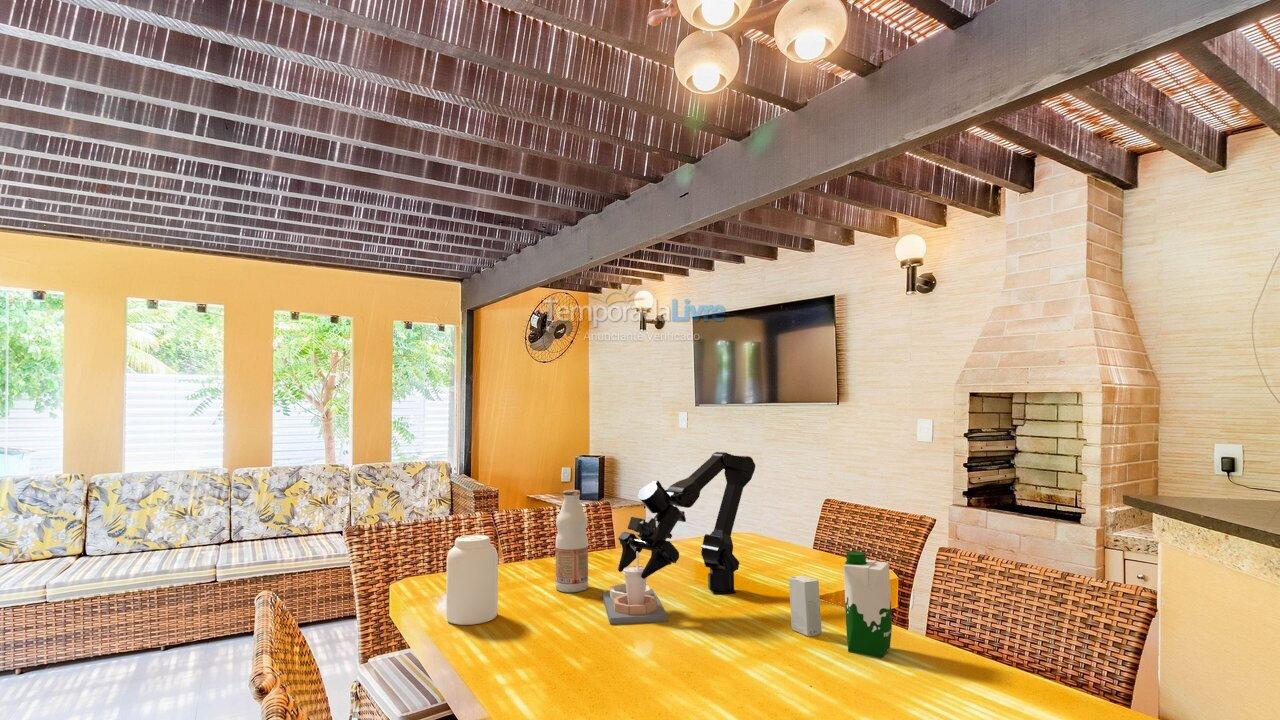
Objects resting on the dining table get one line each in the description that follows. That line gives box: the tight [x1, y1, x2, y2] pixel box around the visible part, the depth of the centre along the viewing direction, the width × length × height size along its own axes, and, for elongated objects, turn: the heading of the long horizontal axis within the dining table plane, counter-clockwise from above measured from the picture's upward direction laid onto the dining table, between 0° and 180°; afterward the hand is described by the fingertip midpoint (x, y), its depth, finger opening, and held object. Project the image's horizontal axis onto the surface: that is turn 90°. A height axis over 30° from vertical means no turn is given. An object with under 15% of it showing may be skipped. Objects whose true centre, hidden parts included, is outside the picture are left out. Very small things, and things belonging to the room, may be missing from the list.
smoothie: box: [622, 551, 648, 605], centre depth 168 cm, size 6×6×14 cm
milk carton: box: [842, 550, 893, 659], centre depth 142 cm, size 9×9×20 cm
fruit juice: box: [555, 489, 589, 593], centre depth 193 cm, size 9×9×28 cm
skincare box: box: [788, 575, 823, 637], centre depth 153 cm, size 6×4×12 cm
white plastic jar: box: [445, 534, 499, 626], centre depth 167 cm, size 12×12×20 cm
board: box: [601, 582, 668, 625], centre depth 173 cm, size 14×24×4 cm, turn 8°
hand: (630, 574), depth 167 cm, fingers open, 9 cm apart
